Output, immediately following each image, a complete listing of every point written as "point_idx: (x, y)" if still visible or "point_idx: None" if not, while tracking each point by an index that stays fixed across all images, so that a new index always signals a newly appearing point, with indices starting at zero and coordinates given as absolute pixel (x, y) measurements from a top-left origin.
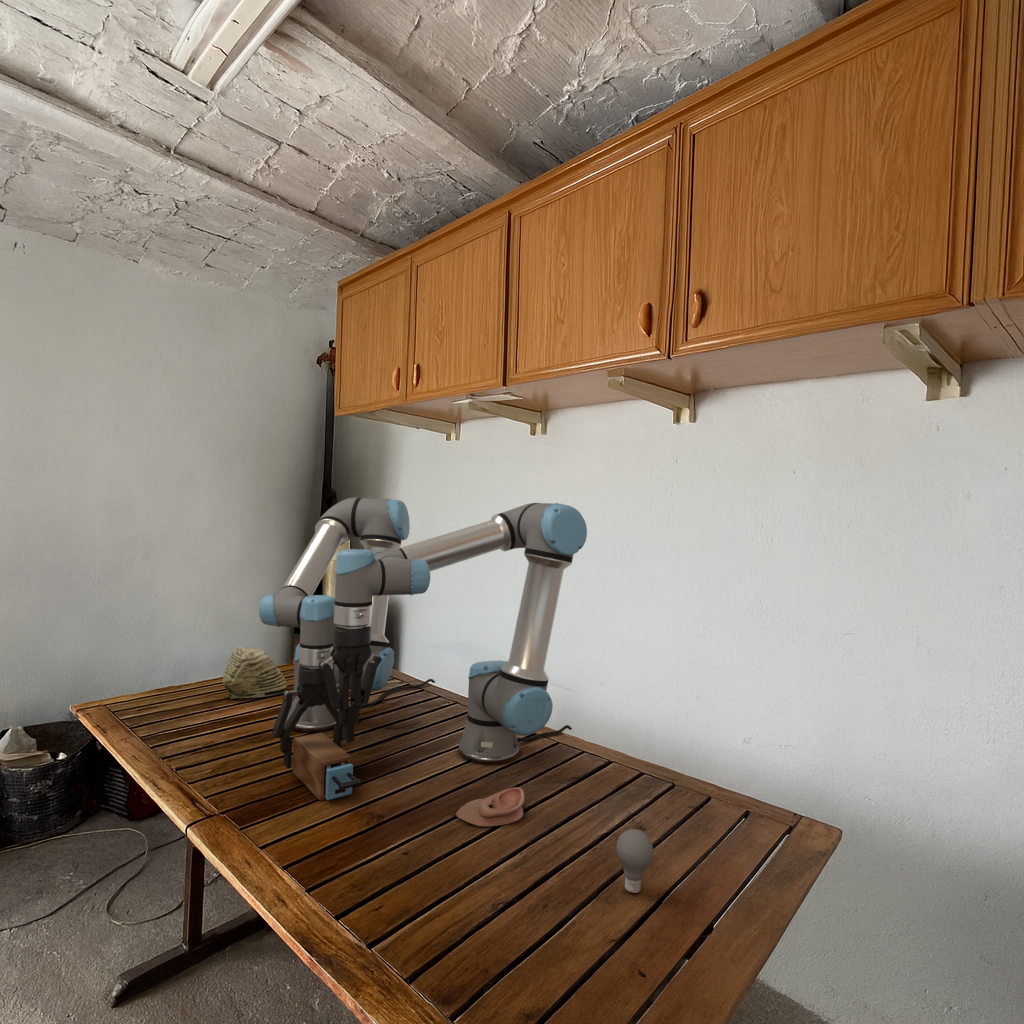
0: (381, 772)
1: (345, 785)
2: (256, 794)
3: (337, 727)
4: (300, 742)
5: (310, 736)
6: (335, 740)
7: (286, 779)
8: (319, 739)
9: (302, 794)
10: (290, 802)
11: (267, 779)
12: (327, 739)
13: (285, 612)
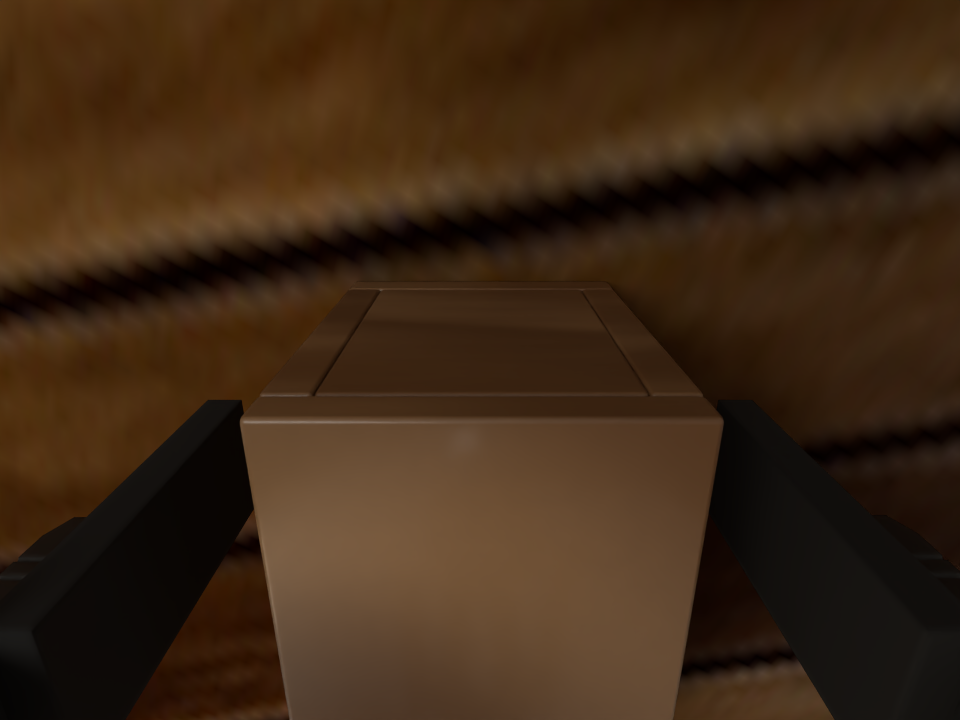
0: None
1: None
2: (46, 495)
3: (925, 713)
4: (286, 619)
5: (487, 499)
6: (784, 550)
7: None
8: (553, 644)
9: None
10: (236, 671)
11: (139, 309)
12: (642, 687)
13: None
